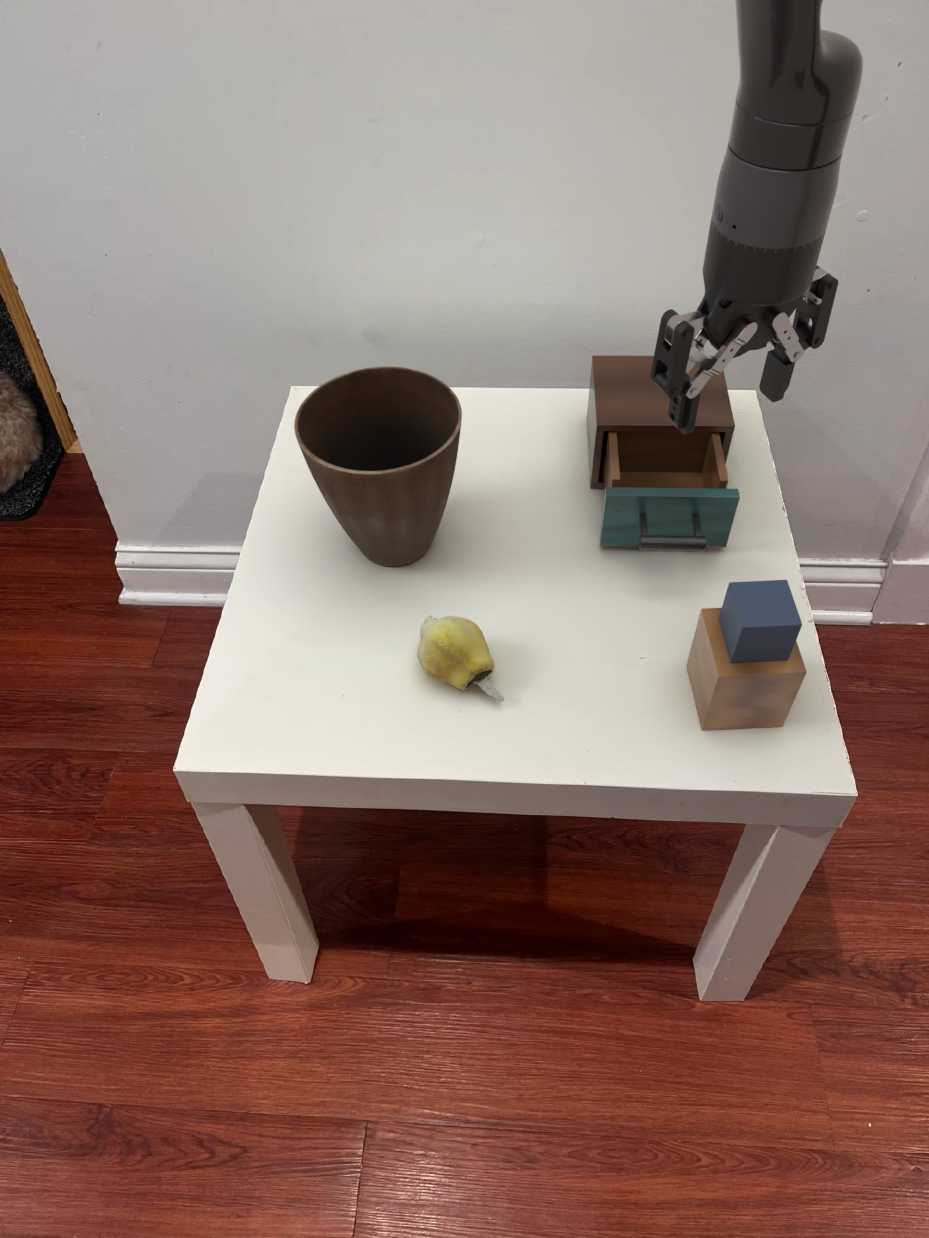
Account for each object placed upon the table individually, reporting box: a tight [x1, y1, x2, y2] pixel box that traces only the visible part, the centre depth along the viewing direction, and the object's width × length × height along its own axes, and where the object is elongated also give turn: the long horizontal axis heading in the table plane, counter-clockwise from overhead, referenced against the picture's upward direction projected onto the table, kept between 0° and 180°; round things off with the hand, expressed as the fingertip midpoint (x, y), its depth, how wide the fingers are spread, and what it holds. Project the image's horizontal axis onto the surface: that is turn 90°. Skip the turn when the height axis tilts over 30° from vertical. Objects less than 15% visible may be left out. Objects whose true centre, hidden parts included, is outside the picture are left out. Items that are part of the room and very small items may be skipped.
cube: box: [686, 607, 807, 731], centre depth 78 cm, size 7×7×8 cm
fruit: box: [416, 615, 505, 702], centre depth 82 cm, size 6×6×10 cm
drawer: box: [599, 431, 741, 552], centre depth 91 cm, size 15×12×7 cm
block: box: [719, 579, 803, 663], centre depth 73 cm, size 5×5×5 cm
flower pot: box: [293, 365, 463, 568], centre depth 88 cm, size 15×15×16 cm
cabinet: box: [586, 354, 736, 490], centre depth 98 cm, size 12×14×9 cm
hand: (726, 411), depth 74 cm, fingers open, 8 cm apart
